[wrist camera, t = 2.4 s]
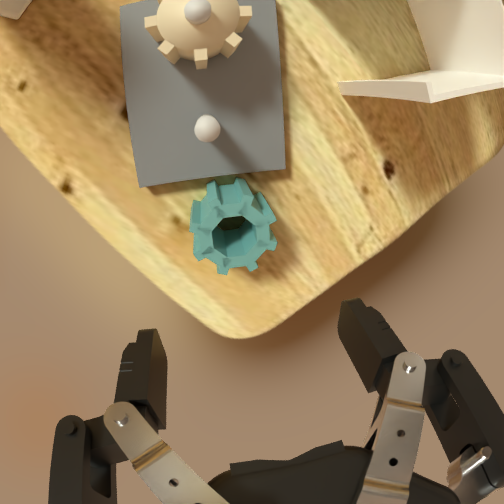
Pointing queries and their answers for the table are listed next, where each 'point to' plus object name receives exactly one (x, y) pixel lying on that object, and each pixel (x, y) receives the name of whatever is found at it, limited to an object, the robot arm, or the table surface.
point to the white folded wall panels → (448, 53)
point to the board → (202, 88)
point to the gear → (235, 240)
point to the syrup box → (13, 8)
